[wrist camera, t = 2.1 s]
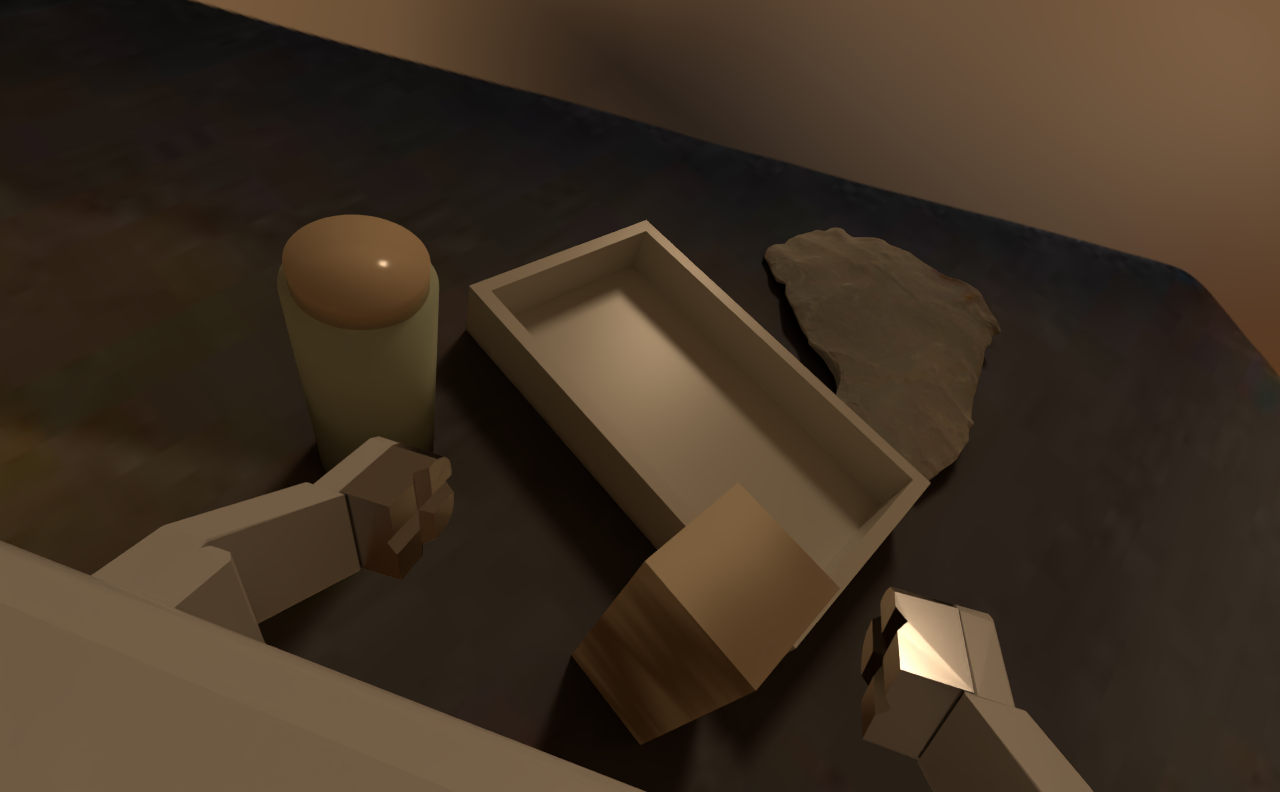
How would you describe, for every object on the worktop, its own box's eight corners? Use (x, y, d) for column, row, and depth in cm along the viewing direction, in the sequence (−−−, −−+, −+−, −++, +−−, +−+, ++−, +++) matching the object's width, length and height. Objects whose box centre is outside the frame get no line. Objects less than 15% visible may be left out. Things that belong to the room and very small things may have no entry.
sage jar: (299, 433, 28) (241, 232, 19) (398, 389, 31) (389, 195, 22) (355, 514, 27) (321, 338, 17) (454, 459, 30) (469, 283, 20)
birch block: (571, 655, 26) (644, 560, 17) (643, 591, 28) (738, 482, 20) (640, 745, 24) (755, 690, 16) (709, 669, 27) (840, 588, 19)
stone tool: (764, 225, 52) (730, 444, 36) (780, 191, 50) (752, 410, 33) (969, 300, 53) (1029, 548, 37) (995, 270, 51) (1073, 522, 34)
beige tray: (465, 329, 34) (469, 285, 32) (632, 259, 42) (646, 220, 40) (759, 667, 28) (795, 648, 25) (892, 510, 36) (930, 483, 33)
